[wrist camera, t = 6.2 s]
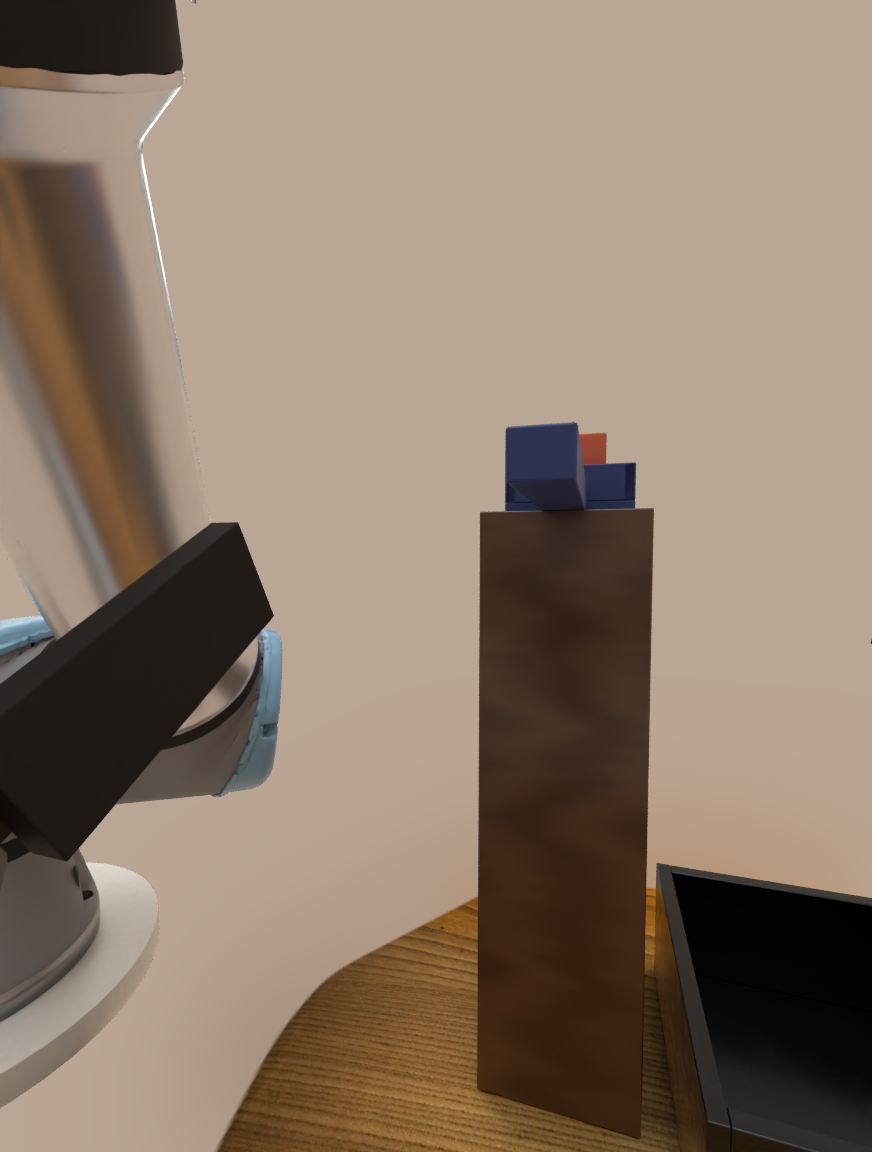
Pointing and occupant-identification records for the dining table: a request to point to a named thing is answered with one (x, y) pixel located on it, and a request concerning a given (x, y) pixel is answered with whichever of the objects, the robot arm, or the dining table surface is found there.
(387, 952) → the dining table surface
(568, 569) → the stand
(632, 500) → the blue long-handled scoop
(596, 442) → the block
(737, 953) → the black square open box
